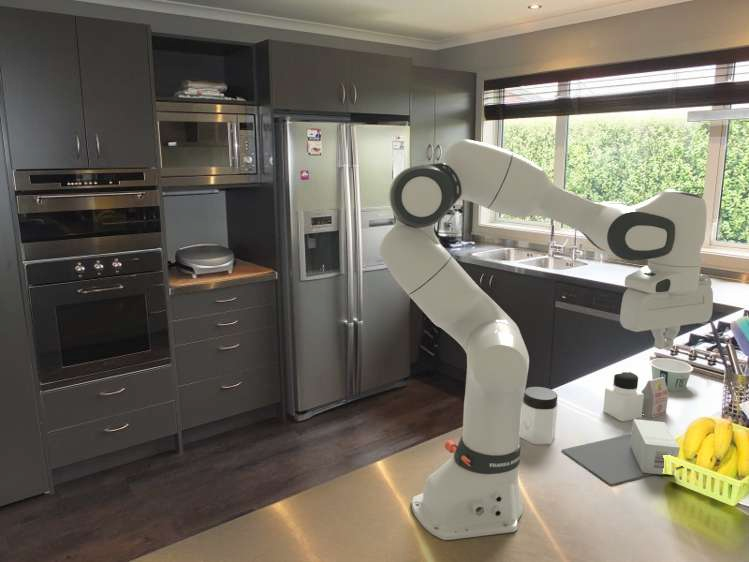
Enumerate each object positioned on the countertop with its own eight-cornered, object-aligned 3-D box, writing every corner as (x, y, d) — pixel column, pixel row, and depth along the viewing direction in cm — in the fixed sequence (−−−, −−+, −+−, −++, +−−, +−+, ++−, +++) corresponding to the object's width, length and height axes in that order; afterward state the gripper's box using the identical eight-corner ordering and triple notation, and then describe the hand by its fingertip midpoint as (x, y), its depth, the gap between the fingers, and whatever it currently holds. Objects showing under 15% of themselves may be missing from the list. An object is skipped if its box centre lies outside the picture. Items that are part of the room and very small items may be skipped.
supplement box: (681, 447, 128) (665, 420, 140) (645, 443, 130) (632, 417, 142) (676, 477, 130) (661, 448, 142) (641, 473, 131) (628, 445, 143)
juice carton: (638, 412, 163) (642, 378, 160) (654, 407, 166) (658, 374, 164) (650, 417, 160) (654, 383, 157) (665, 412, 163) (670, 378, 161)
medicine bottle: (641, 418, 159) (646, 376, 157) (621, 422, 157) (626, 380, 154) (622, 407, 166) (626, 367, 163) (602, 411, 163) (606, 370, 160)
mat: (610, 485, 127) (610, 484, 127) (561, 451, 141) (561, 449, 141) (684, 466, 135) (684, 464, 135) (630, 435, 150) (630, 433, 149)
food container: (658, 374, 190) (660, 355, 189) (697, 386, 182) (700, 366, 180) (640, 383, 183) (642, 363, 182) (680, 395, 174) (682, 375, 173)
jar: (512, 433, 150) (515, 390, 147) (535, 426, 154) (538, 383, 151) (538, 448, 142) (542, 403, 140) (562, 440, 146) (566, 396, 144)
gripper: (697, 270, 116) (688, 336, 119) (618, 278, 108) (610, 348, 112) (726, 276, 110) (716, 346, 114) (645, 285, 103) (636, 359, 106)
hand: (663, 347), depth 112 cm, fingers closed
